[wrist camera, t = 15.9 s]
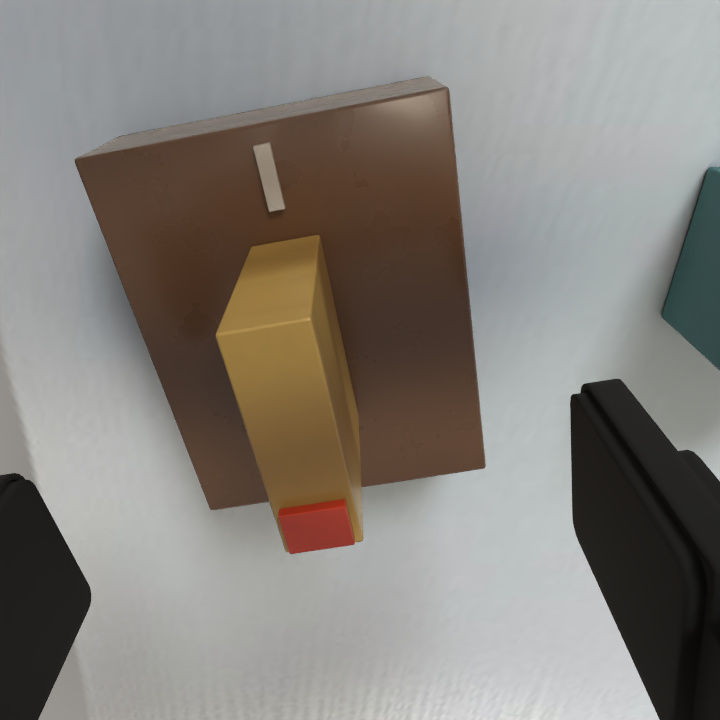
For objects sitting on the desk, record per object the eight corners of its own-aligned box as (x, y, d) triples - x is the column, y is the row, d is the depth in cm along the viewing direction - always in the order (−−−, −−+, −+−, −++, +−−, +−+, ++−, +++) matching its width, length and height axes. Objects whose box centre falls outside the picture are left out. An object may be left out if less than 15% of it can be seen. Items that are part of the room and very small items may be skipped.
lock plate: (117, 136, 16) (69, 160, 13) (430, 75, 15) (450, 87, 12) (227, 448, 20) (208, 515, 18) (467, 410, 20) (487, 472, 17)
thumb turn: (250, 245, 14) (210, 341, 10) (319, 233, 14) (309, 324, 10) (299, 425, 16) (284, 563, 12) (358, 415, 16) (364, 550, 12)
